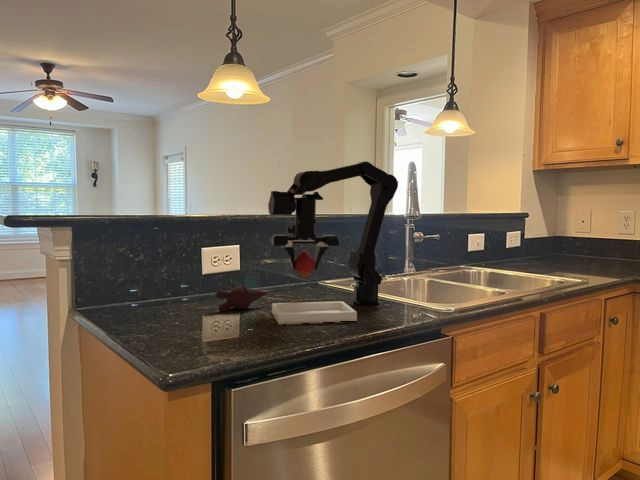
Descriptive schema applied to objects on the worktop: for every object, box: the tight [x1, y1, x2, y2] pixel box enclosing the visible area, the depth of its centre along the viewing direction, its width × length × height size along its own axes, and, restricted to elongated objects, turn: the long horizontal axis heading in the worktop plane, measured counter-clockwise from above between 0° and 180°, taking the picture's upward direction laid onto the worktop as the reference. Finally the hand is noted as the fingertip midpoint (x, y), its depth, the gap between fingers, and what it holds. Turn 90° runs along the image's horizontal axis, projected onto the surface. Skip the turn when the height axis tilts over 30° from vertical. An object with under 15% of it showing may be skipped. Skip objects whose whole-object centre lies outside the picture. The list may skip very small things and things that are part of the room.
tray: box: [271, 300, 358, 326], centre depth 124 cm, size 20×13×2 cm, turn 103°
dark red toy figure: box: [215, 284, 268, 312], centre depth 132 cm, size 7×7×15 cm
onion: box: [295, 249, 315, 279], centre depth 135 cm, size 6×6×8 cm
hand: (304, 270), depth 135 cm, fingers closed on onion, 6 cm apart
